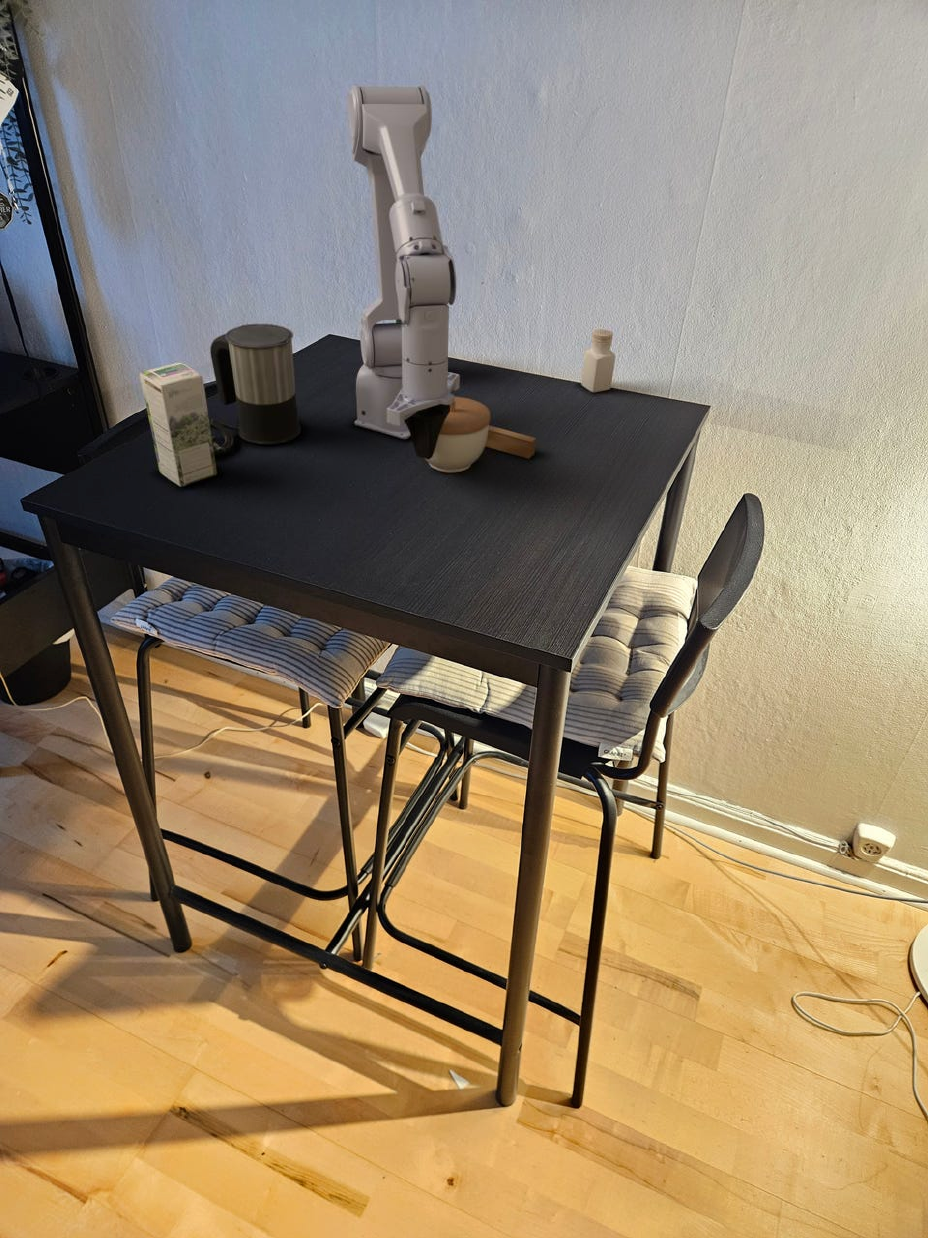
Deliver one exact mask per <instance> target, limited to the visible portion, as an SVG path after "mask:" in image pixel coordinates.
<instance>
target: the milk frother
mask: <svg viewBox="0 0 928 1238" xmlns="http://www.w3.org/2000/svg"><path fill="white" fill-rule="evenodd" d="M293 337H294V333H293V331H292V330H290V329H289V328H288V327H285V326H282V325H278V324H273V323H249V324H247V323H246V324H242V325H239V326H236V327H233V328H231V329H229V330H228V331H227V332H226V333H223V334H221V335H219V336H217V337H216V338H214V339H213V340H212V342H211V344H210V350H209V352H210V359H211V364H212V368H213V373H214V378H215V383H216V384H215V385H216V389H217V392H218V394H217V395H218V398H219V401H220V403H221V404H223V406H228V405H232V404H234V403H236V408H237V425H238V426H231V425H229V424H226V423H223V422H221V421H220V420H216V419H213V418H209V424H210V429H213V430H214V431H217V432H218V433H220V434H221V435H222V437H223V438H224V443H223V444H221V445H219V444H218V443H216V441H217V436H215V435H213V436H211V437H212V444H213V450H214V456H218V455H222V454H225V453H228V452H229V451H230V450H231V449H232V448H233V447H234V442H235V441H234V440H235V439H234V436H233V434H232V433H231V431H230V430H232V431H233V430H234V431H237V434H238V436H239V437H240V438H241V439H242V440H244V441H245V442H248V443H251V444H255V445H267V446H269V445H270V446H271V445H279V444H283V443H287V442H290V441H292V440H294V439H296V438H297V437H298V436H299V435H300V434H301V431H302V428H301V425H300V422H299V415H298V406H297V398H296V397H297V396H296V382H295V367H294V356H293V355H294V354H293V353H294V352H293V341H292V339H293Z"/></svg>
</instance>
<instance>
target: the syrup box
mask: <svg viewBox="0 0 928 1238" xmlns="http://www.w3.org/2000/svg"><path fill="white" fill-rule="evenodd" d="M139 378H140V382H141V387H142V392H143V397H144V402H145V407H146V412H147V417H148V422H149V427H150V432H151V436H152V440H153V441H152V442H153V447H154V452H155V456H156V462H157V467H158V471H159V473H160V474H161V475H163V476H164V477H166V478H167V479H168V480H169V481H171V482H172V483H174V484H175V485H177V486H179V487H180V488H182V487H185V486H189V485H191V484H194V483H197V482H200V481H202V480H205V479H208V478H212V477H213V476H216V475H217V474H218V471H217V465H216V458H215V455H214V450H213V444H212V437H213V436H212V432H211V431H212V430H211V428H210V424H209V419H210V418H209V412H208V411H209V410H208V405H207V404H208V403H207V399H206V398H207V397H206V391H205V384H204V378H203V376H202V375H201V374H200V373H199V372H197V371H196V370H194V369H193V368H192V367H190V366H188V365H187V364H185V363H183V362H180V361H178V362H175V363H171V364H167V365H163V366H159V367H155V368H151V369H148V370H144V371H141V372H139Z"/></svg>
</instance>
